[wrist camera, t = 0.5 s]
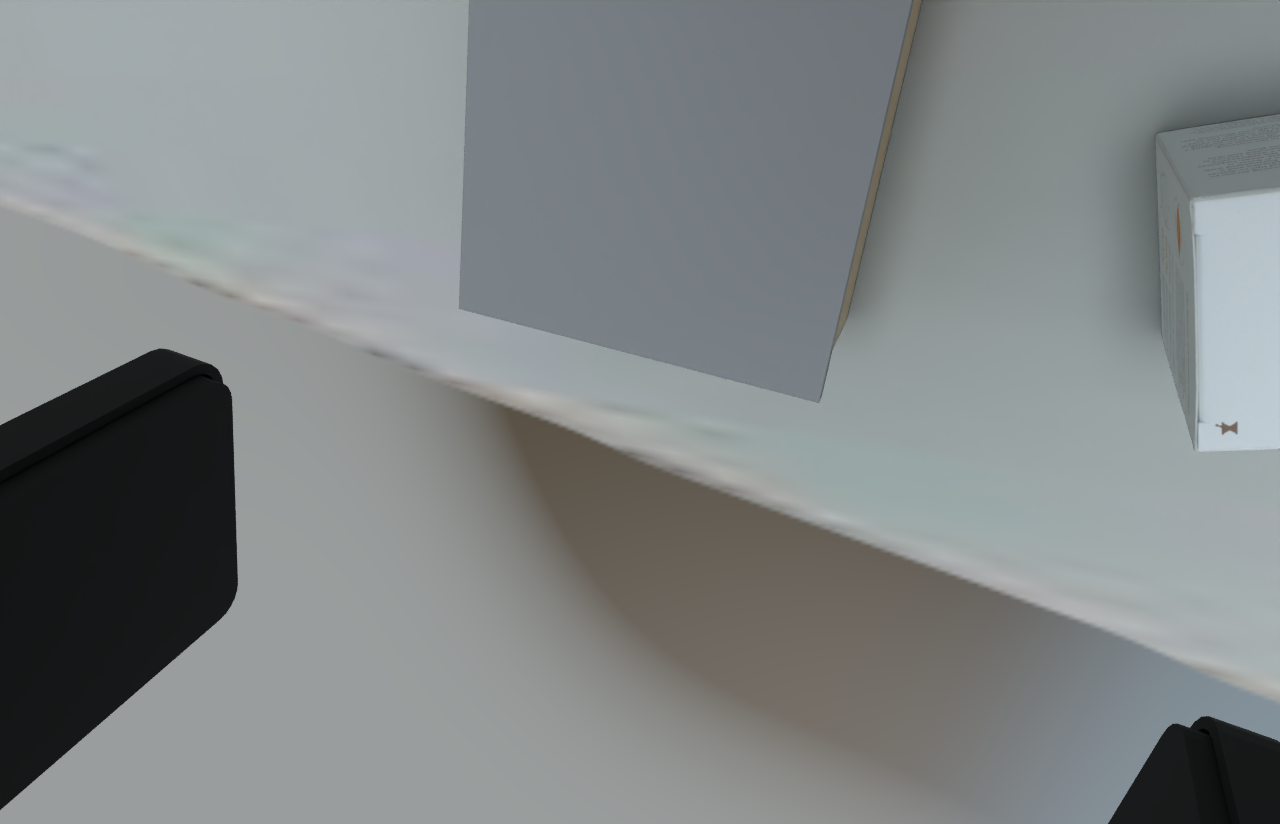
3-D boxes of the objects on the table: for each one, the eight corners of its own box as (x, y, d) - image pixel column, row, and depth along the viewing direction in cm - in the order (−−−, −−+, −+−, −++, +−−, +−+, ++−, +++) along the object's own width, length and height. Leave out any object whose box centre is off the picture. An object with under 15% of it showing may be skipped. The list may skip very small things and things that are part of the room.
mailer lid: (486, -244, 31) (441, -257, 29) (958, -191, 28) (951, -201, 25) (466, 303, 40) (430, 328, 38) (821, 396, 37) (807, 429, 34)
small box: (1327, 323, 37) (1421, 452, 28) (1157, 336, 39) (1193, 460, 30) (1336, 100, 34) (1444, 167, 25) (1151, 128, 36) (1189, 198, 27)
